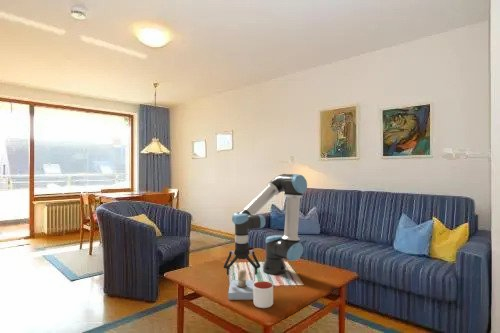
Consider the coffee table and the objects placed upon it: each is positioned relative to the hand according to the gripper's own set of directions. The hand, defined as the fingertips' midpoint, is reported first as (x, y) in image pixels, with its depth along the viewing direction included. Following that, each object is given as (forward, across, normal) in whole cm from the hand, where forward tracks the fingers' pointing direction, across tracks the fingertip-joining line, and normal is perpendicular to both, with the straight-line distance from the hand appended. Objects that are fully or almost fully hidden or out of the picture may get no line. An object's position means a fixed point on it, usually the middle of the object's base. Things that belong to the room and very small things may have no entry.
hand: (242, 280), depth 172 cm
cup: (+7, -11, +15) cm, 20 cm away
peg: (+7, 0, 0) cm, 7 cm away
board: (+7, 0, 0) cm, 7 cm away
